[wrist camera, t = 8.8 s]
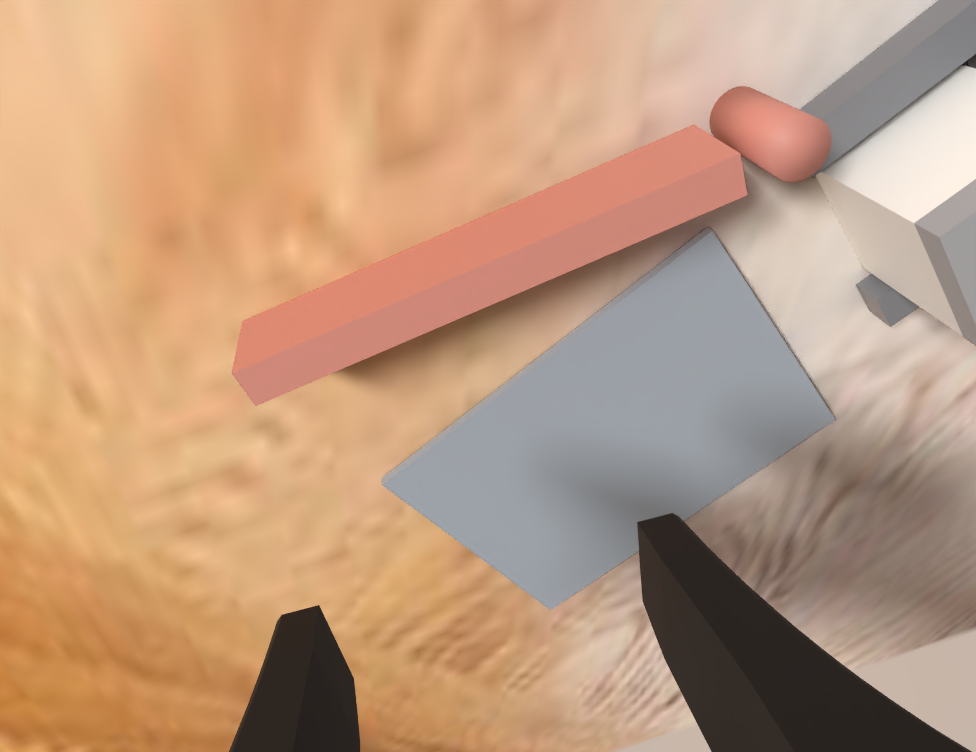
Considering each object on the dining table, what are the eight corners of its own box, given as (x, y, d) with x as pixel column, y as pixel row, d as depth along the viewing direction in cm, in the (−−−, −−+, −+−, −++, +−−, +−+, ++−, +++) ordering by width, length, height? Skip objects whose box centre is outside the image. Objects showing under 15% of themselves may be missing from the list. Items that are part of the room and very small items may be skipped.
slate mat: (707, 226, 20) (712, 230, 19) (830, 413, 24) (835, 419, 24) (381, 478, 22) (382, 484, 22) (548, 603, 27) (550, 610, 27)
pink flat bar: (766, 130, 19) (833, 166, 16) (269, 346, 19) (260, 412, 17) (759, 76, 18) (828, 105, 15) (240, 303, 18) (226, 366, 16)
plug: (946, 60, 18) (1123, 107, 14) (986, 177, 21) (1150, 246, 16) (809, 165, 19) (939, 236, 15) (861, 266, 21) (987, 353, 17)
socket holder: (991, -41, 17) (1024, -39, 16) (1054, 181, 21) (1084, 193, 20) (773, 130, 19) (794, 141, 18) (869, 311, 22) (890, 326, 22)
